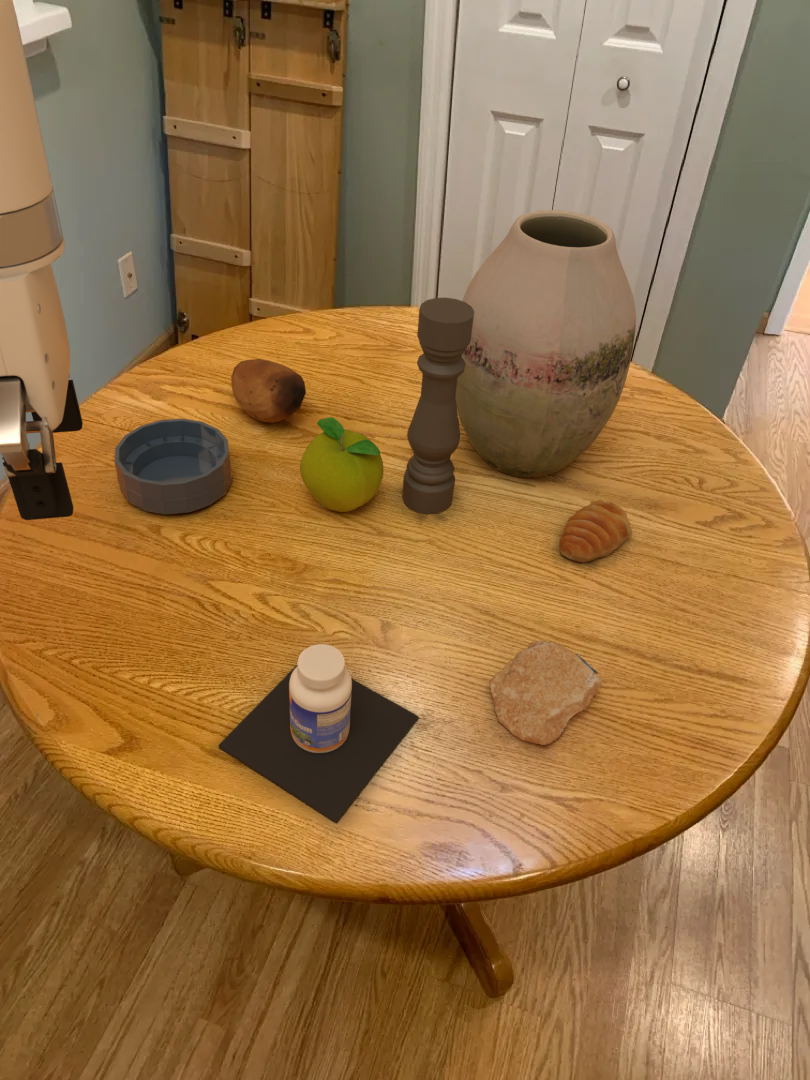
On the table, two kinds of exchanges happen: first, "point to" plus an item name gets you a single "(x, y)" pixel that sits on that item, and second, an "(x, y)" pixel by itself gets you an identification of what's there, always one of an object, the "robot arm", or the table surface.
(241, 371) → the potato
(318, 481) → the fruit
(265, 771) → the mat
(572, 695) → the stone
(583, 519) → the pastry
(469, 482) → the table surface
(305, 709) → the pill bottle
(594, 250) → the vase
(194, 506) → the bowl
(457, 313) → the candle holder
